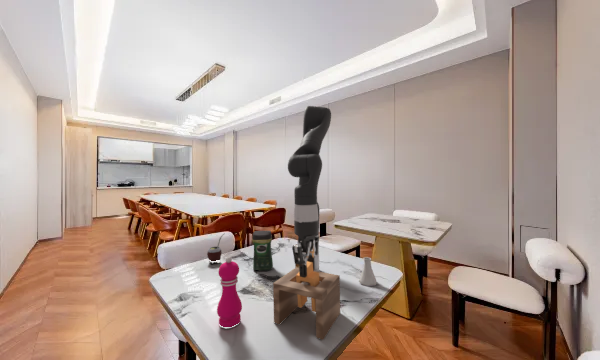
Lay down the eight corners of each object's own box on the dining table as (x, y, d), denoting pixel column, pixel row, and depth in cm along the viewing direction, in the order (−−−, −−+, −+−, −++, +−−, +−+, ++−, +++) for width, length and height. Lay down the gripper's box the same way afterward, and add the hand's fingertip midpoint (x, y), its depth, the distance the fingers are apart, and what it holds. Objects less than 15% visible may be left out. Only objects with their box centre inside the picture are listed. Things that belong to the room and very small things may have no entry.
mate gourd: (204, 265, 119) (204, 236, 119) (213, 259, 126) (212, 232, 126) (218, 265, 117) (217, 236, 117) (225, 260, 125) (225, 232, 125)
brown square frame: (273, 323, 69) (273, 283, 69) (296, 301, 81) (296, 267, 81) (323, 339, 61) (322, 294, 61) (340, 312, 73) (339, 275, 73)
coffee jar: (273, 265, 116) (272, 228, 116) (272, 271, 108) (271, 232, 108) (254, 265, 116) (253, 229, 116) (251, 272, 108) (250, 232, 108)
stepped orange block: (298, 307, 72) (295, 265, 70) (304, 299, 75) (301, 260, 74) (315, 312, 69) (313, 269, 68) (320, 304, 72) (318, 263, 71)
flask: (378, 287, 90) (377, 262, 90) (359, 285, 92) (358, 261, 92) (376, 279, 97) (375, 256, 97) (358, 278, 99) (358, 255, 99)
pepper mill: (220, 316, 73) (219, 253, 73) (244, 315, 73) (242, 252, 73) (214, 331, 65) (212, 261, 65) (240, 329, 66) (238, 260, 66)
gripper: (306, 214, 79) (307, 264, 79) (283, 221, 67) (284, 280, 67) (326, 216, 76) (327, 267, 76) (306, 223, 63) (307, 285, 63)
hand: (307, 273), depth 71 cm, fingers open, 4 cm apart
